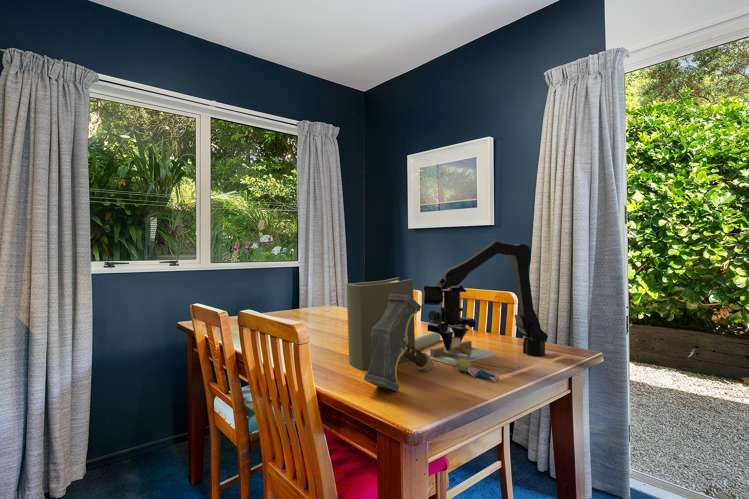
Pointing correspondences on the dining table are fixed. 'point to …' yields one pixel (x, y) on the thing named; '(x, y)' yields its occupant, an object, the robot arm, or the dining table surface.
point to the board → (459, 354)
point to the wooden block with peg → (457, 347)
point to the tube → (426, 340)
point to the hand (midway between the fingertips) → (452, 349)
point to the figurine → (473, 369)
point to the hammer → (394, 343)
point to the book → (371, 315)
